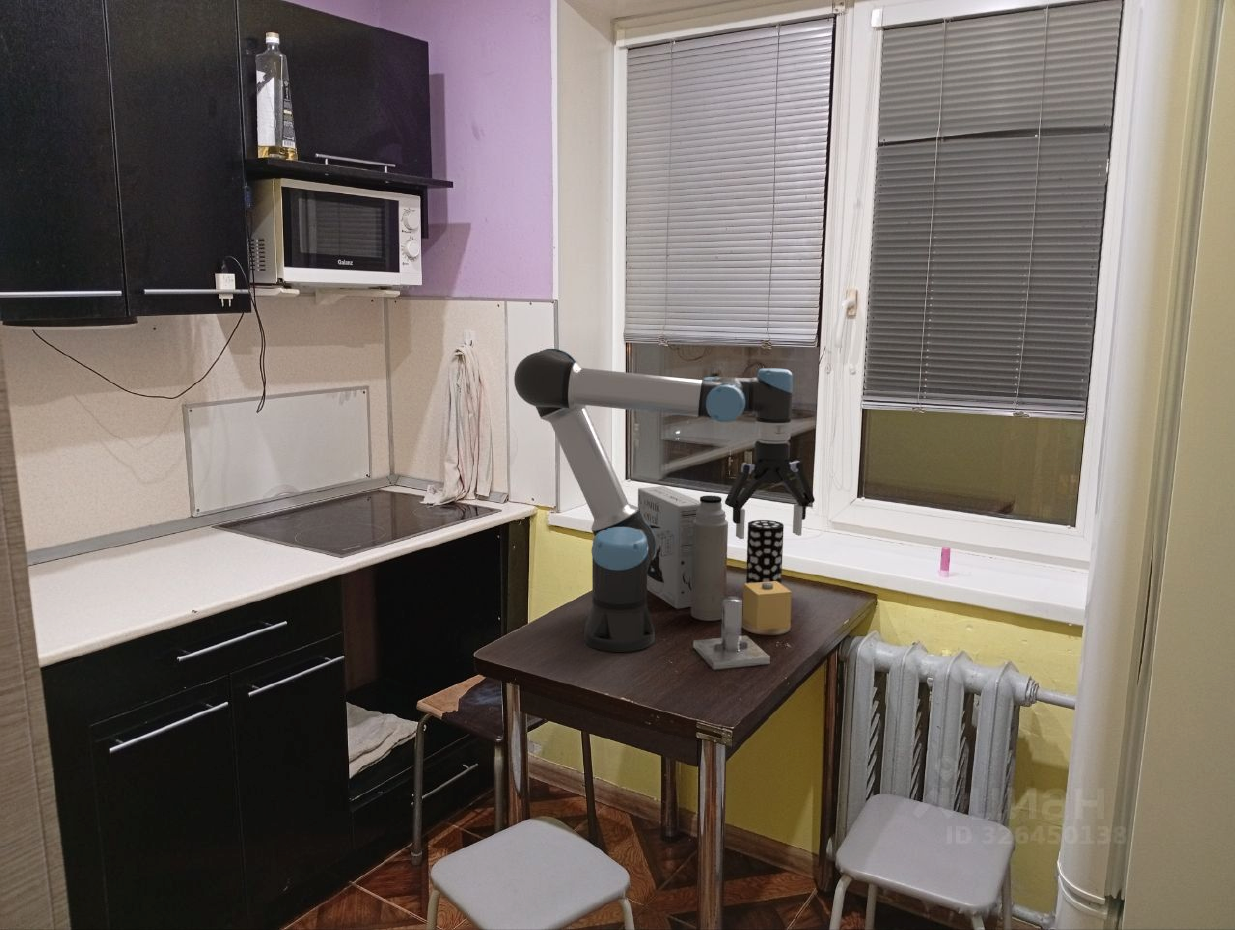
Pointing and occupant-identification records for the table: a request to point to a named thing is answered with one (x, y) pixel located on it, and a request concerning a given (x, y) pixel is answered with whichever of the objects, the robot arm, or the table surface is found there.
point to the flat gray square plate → (731, 641)
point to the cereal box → (670, 542)
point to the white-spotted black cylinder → (764, 551)
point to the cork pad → (764, 632)
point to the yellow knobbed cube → (767, 605)
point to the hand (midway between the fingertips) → (768, 535)
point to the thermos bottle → (709, 559)
